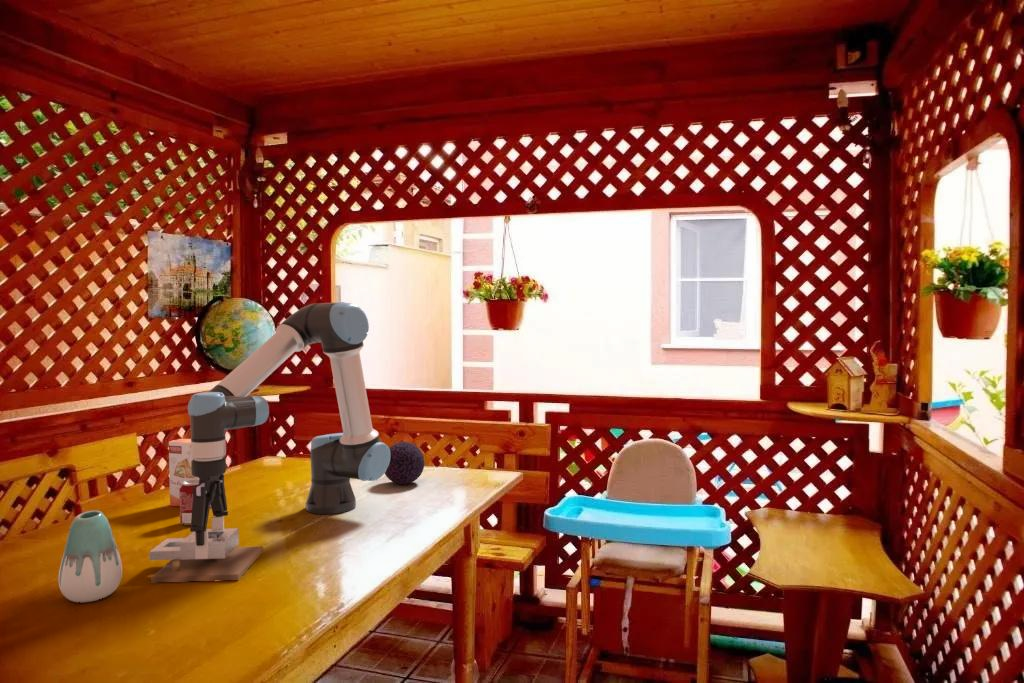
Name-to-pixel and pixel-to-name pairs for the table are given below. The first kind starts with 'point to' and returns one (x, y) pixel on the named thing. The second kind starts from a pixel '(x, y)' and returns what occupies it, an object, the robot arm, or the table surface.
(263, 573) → the table surface
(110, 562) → the vase
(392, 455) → the toy ball
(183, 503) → the soda can
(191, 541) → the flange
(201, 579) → the post base
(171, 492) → the cracker box
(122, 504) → the table surface
